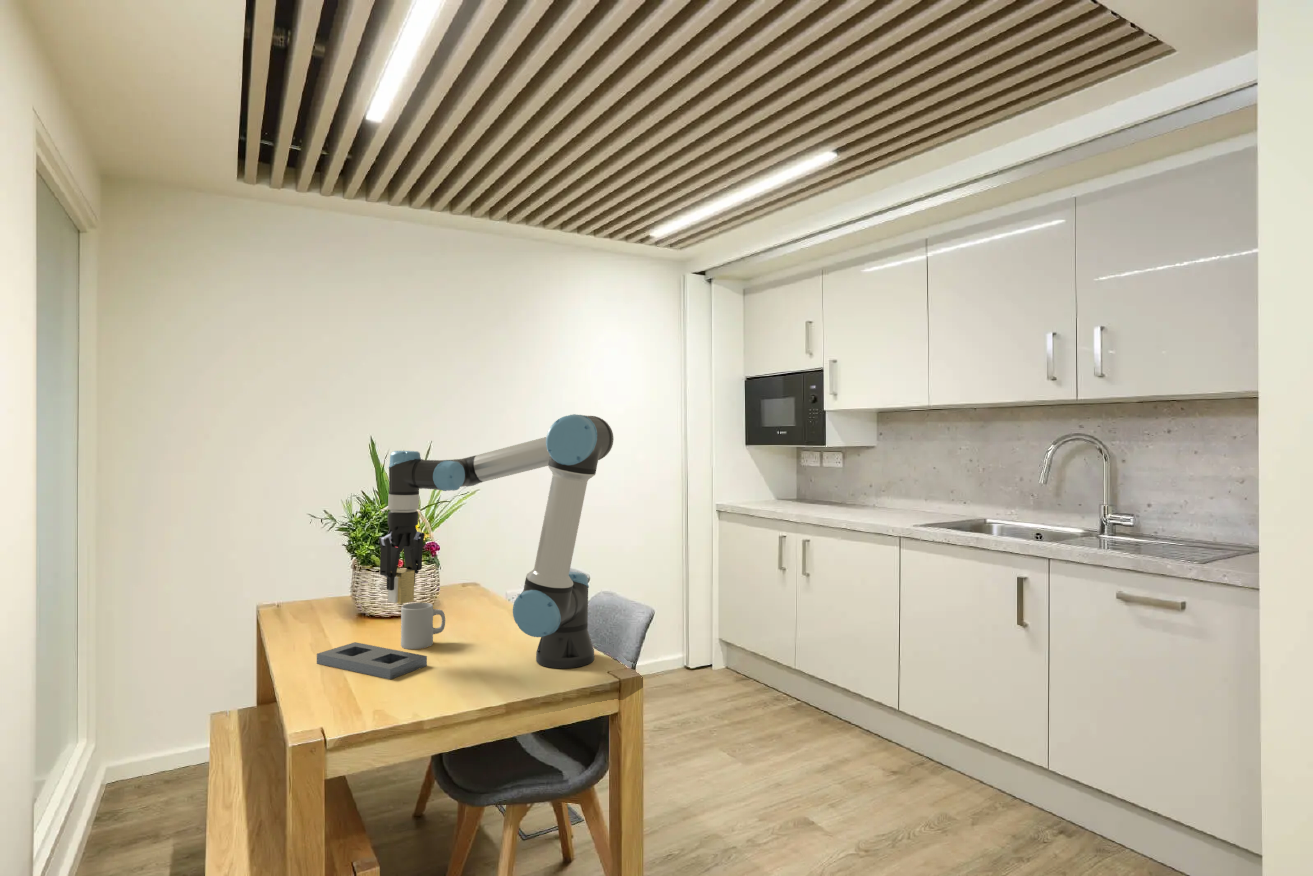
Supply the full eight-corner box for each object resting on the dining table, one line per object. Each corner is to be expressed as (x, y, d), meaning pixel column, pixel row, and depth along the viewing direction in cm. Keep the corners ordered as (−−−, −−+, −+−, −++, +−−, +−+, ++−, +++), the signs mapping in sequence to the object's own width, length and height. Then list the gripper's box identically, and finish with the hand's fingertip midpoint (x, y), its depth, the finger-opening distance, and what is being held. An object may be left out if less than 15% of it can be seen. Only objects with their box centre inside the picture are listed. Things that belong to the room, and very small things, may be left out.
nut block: (413, 600, 195) (414, 570, 195) (400, 604, 191) (401, 573, 191) (401, 598, 198) (402, 568, 197) (387, 601, 194) (388, 570, 193)
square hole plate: (426, 665, 191) (426, 656, 191) (390, 679, 180) (390, 669, 180) (354, 651, 203) (355, 642, 203) (316, 663, 192) (316, 653, 192)
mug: (403, 651, 204) (403, 610, 204) (398, 643, 211) (398, 604, 211) (448, 645, 209) (448, 606, 209) (441, 638, 217) (442, 600, 217)
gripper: (418, 506, 204) (415, 592, 204) (365, 512, 188) (362, 604, 188) (438, 508, 200) (435, 596, 200) (386, 514, 185) (383, 609, 185)
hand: (400, 600), depth 194 cm, fingers closed on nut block, 4 cm apart
